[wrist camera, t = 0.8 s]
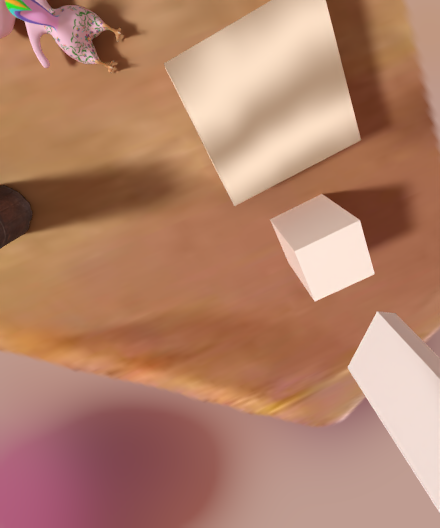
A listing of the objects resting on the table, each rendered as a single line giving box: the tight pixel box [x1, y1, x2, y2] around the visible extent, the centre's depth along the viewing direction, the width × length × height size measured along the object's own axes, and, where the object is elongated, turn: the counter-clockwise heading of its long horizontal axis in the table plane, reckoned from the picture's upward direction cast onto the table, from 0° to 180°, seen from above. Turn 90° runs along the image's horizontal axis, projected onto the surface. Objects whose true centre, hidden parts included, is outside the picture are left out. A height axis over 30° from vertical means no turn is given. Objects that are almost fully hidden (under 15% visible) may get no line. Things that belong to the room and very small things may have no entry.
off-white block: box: [270, 194, 374, 301], centre depth 33 cm, size 6×6×8 cm
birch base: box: [164, 0, 361, 206], centre depth 28 cm, size 12×12×5 cm
